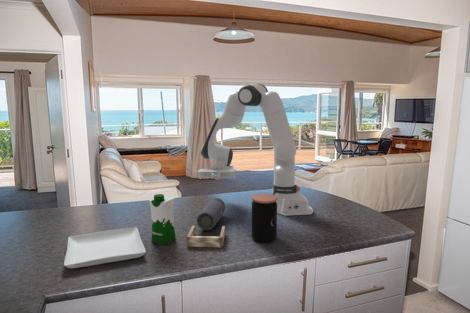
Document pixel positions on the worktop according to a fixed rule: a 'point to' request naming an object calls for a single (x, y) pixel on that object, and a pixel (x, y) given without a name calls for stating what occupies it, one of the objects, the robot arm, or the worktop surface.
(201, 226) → the bluetooth speaker
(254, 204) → the coffee jar
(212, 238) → the birch bay
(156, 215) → the milk carton
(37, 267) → the worktop surface
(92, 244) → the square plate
